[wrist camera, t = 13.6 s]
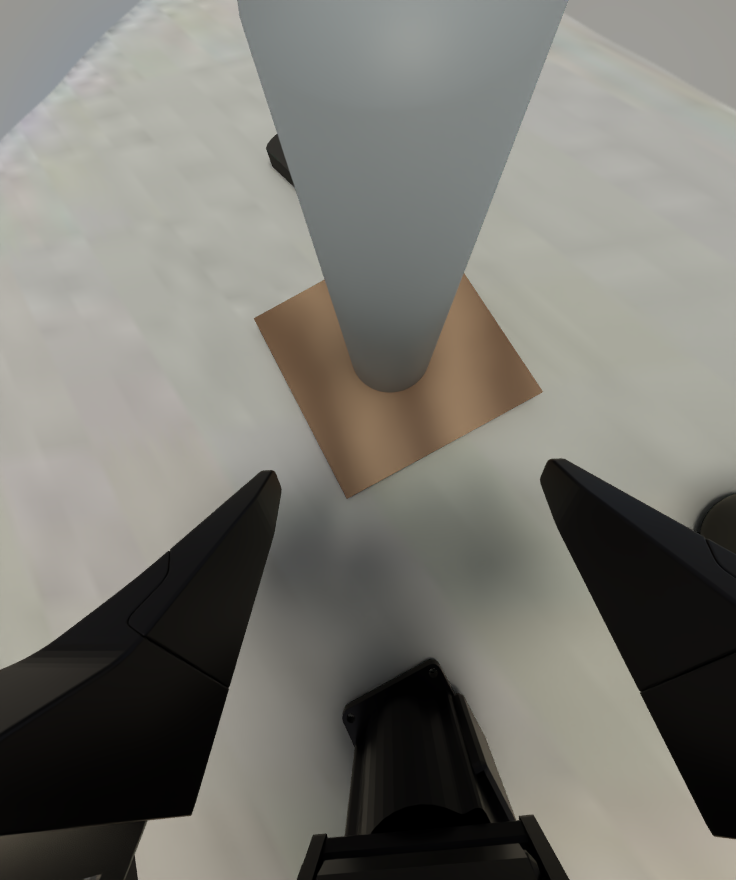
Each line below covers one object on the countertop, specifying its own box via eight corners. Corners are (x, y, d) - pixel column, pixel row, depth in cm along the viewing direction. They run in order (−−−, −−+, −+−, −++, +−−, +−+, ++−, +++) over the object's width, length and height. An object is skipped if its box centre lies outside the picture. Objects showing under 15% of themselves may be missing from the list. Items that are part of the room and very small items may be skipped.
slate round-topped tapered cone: (389, 408, 18) (396, 176, 4) (335, 354, 18) (174, -11, 4) (446, 354, 18) (656, -62, 4) (391, 302, 18) (403, -206, 5)
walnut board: (349, 497, 18) (346, 498, 17) (260, 326, 20) (253, 318, 19) (534, 396, 18) (543, 391, 17) (427, 234, 20) (430, 222, 19)
